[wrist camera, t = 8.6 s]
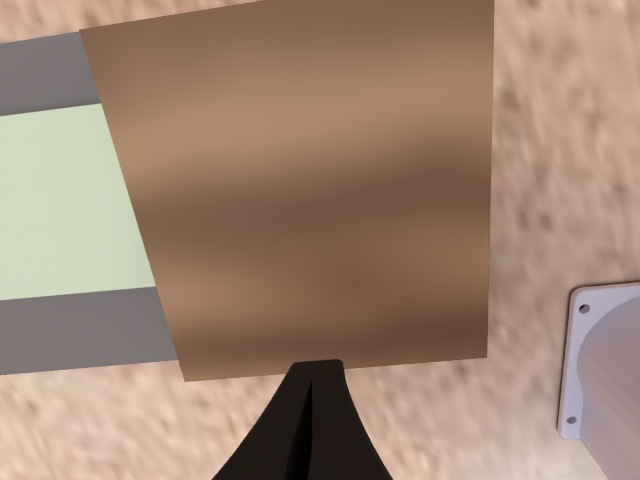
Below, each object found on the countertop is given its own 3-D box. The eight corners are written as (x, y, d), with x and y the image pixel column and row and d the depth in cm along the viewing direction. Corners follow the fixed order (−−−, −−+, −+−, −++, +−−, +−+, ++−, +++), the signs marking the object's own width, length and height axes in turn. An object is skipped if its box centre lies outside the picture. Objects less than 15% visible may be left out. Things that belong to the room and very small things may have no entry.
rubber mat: (198, 352, 21) (195, 358, 21) (-35, 373, 23) (-43, 378, 22) (108, 29, 16) (101, 27, 16) (-192, 77, 17) (-206, 76, 17)
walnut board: (465, 321, 20) (487, 357, 17) (204, 344, 21) (185, 381, 18) (465, -12, 15) (495, -36, 12) (123, 41, 16) (78, 29, 13)
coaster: (174, 272, 19) (162, 285, 18) (23, 285, 20) (0, 300, 18) (129, 101, 17) (110, 102, 15) (-44, 123, 17) (-78, 126, 16)
